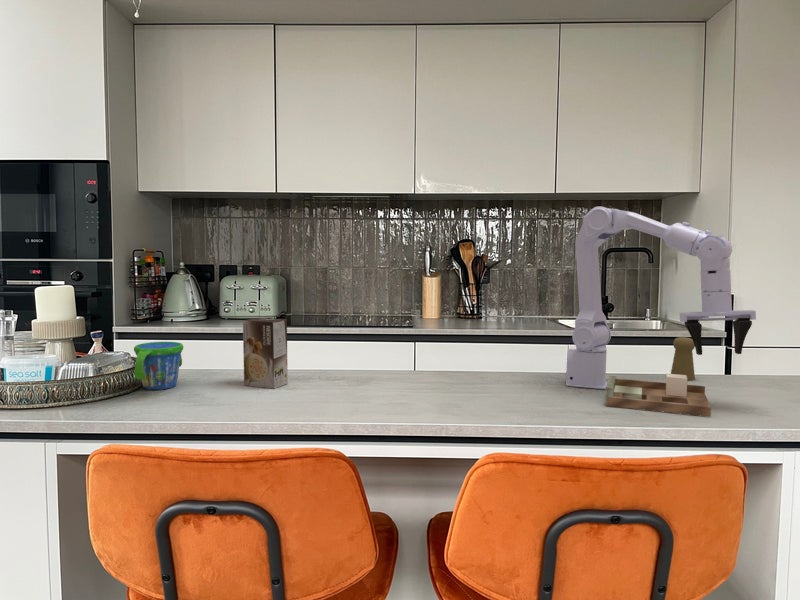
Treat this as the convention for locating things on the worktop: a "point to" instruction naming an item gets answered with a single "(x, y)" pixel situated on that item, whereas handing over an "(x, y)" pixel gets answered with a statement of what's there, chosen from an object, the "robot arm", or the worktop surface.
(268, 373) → the coffee box
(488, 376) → the worktop surface
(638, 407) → the trap deck
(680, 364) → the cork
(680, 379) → the cream block
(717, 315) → the robot arm
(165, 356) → the snack cup
